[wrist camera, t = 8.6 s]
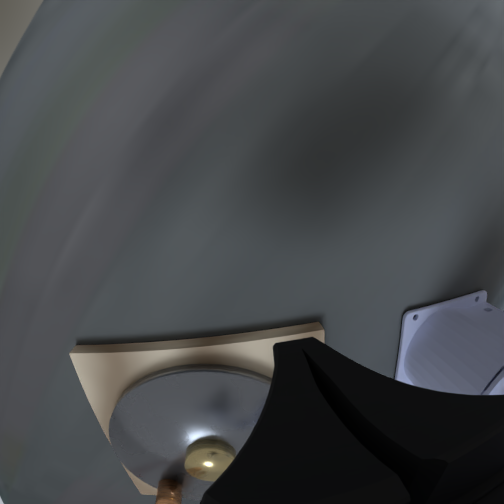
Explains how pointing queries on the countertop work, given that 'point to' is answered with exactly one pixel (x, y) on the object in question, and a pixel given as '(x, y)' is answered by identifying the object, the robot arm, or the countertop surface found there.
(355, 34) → the countertop surface
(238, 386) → the handwheel
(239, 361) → the wheel base
